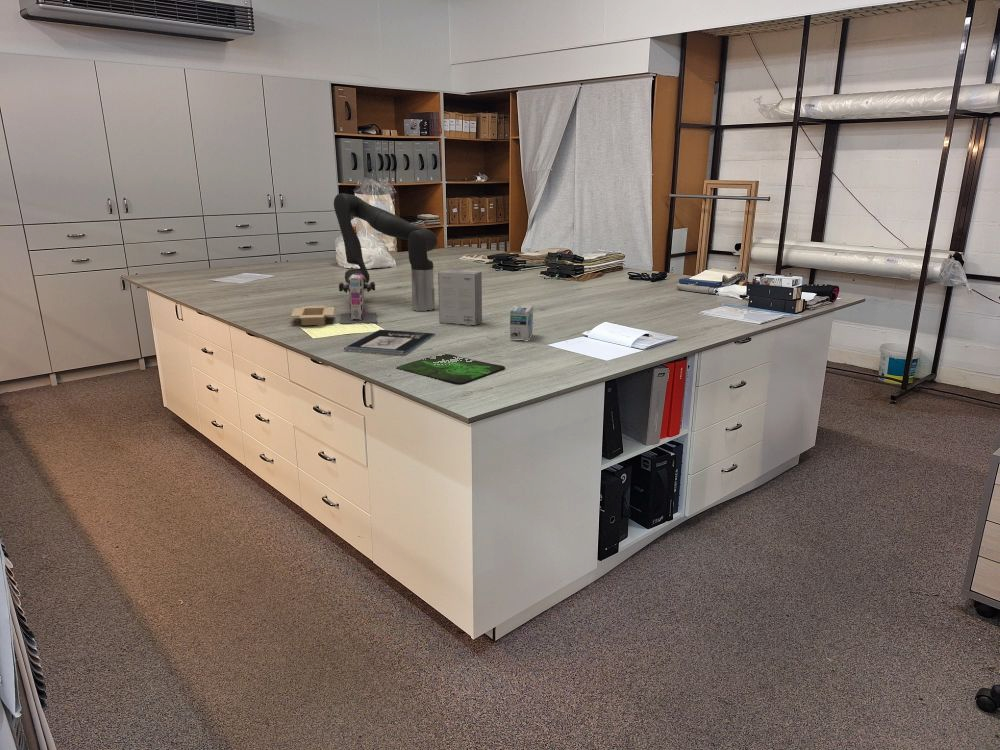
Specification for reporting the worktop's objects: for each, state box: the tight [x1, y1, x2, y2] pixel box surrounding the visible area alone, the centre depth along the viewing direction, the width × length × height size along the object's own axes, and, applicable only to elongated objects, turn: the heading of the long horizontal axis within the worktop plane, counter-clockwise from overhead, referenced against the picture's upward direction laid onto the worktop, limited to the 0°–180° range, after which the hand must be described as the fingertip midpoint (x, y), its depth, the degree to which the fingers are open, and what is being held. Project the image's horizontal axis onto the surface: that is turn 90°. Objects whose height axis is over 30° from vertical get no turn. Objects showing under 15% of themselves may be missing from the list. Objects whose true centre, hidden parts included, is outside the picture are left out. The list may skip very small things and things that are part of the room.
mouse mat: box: [395, 353, 506, 385], centre depth 204 cm, size 27×22×1 cm
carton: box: [290, 305, 335, 326], centre depth 262 cm, size 16×22×4 cm
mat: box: [339, 312, 378, 325], centre depth 268 cm, size 14×18×1 cm
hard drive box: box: [437, 269, 483, 326], centre depth 260 cm, size 16×8×20 cm, turn 71°
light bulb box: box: [509, 304, 534, 341], centre depth 240 cm, size 11×7×11 cm, turn 169°
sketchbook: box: [343, 329, 436, 357], centre depth 232 cm, size 22×30×2 cm
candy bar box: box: [348, 275, 366, 320], centre depth 266 cm, size 11×5×16 cm, turn 7°
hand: (357, 289), depth 266 cm, fingers open, 8 cm apart
